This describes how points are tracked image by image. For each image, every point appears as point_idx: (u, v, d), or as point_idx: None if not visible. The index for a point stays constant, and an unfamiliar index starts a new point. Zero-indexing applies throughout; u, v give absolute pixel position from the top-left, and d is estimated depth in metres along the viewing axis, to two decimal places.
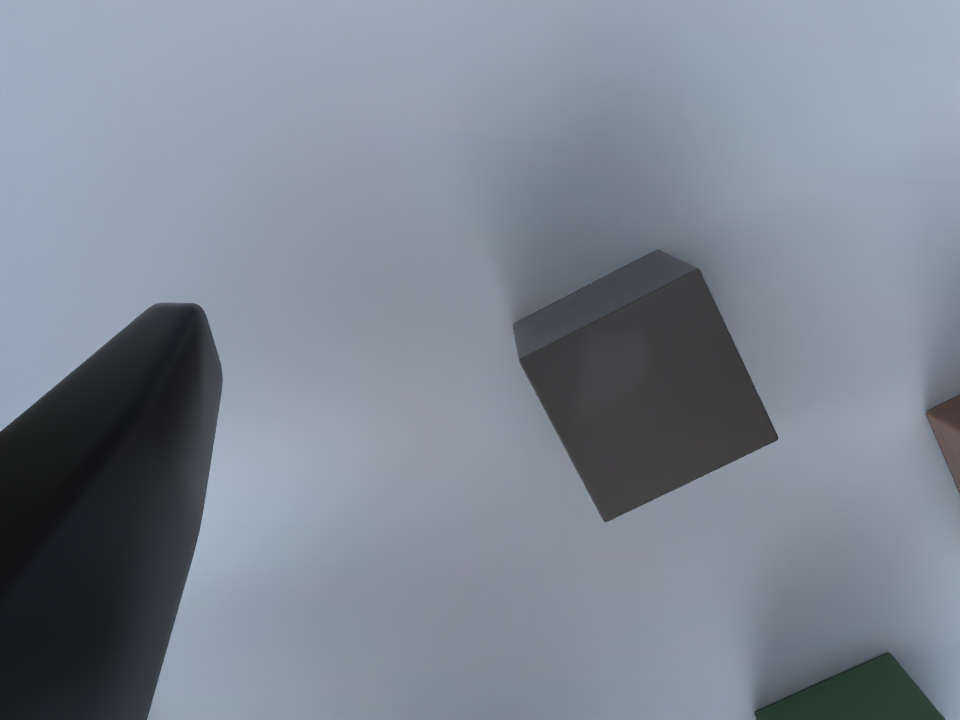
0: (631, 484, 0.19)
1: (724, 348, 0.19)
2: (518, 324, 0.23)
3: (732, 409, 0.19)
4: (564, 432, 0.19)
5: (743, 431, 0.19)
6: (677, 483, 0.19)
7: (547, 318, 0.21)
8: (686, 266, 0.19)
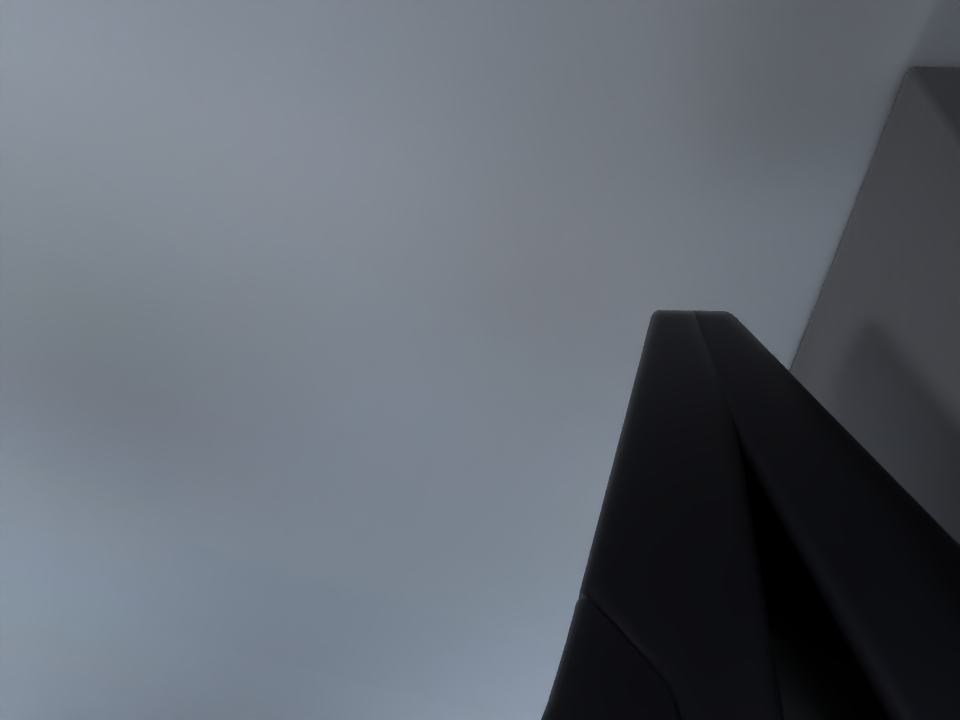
0: None
1: None
2: (950, 94, 0.07)
3: None
4: None
5: None
6: None
7: None
8: None
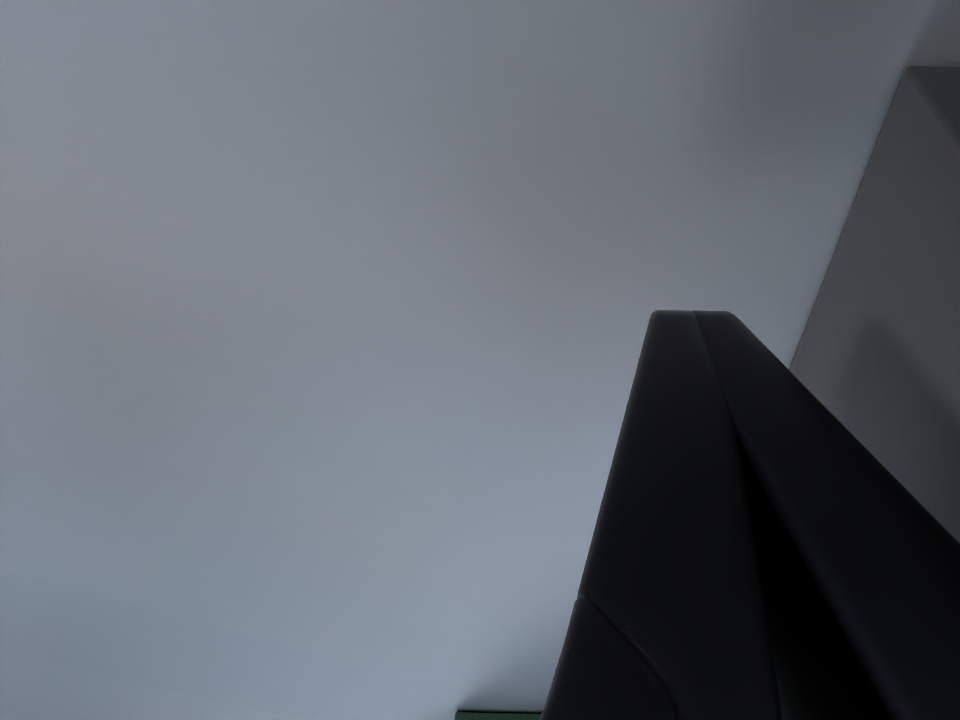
0: None
1: None
2: (947, 93, 0.07)
3: None
4: None
5: None
6: None
7: None
8: None
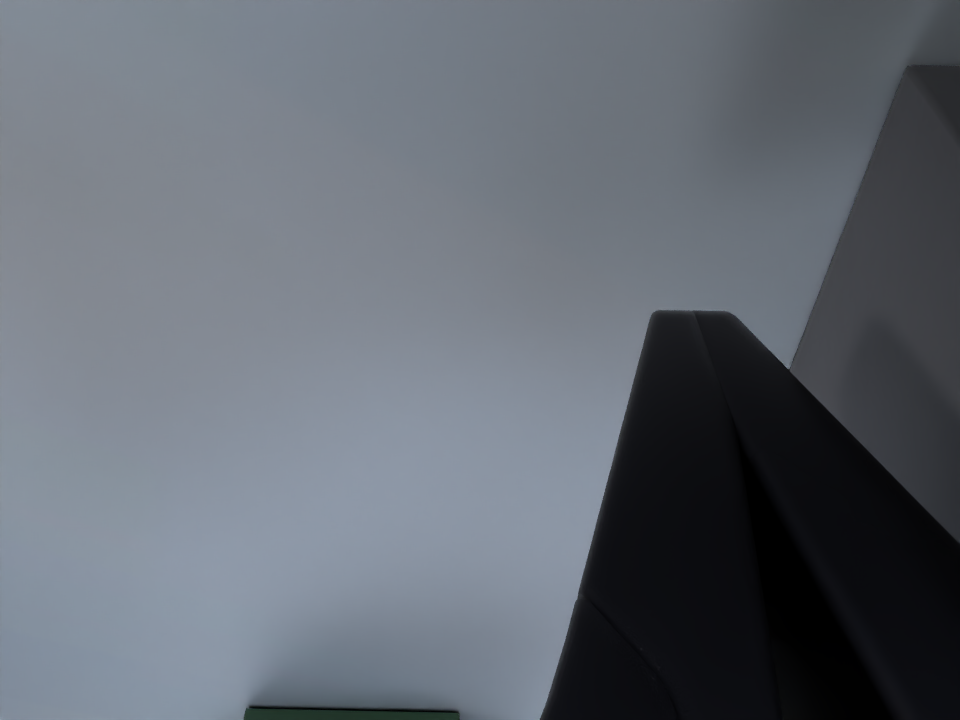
0: None
1: None
2: (948, 91, 0.07)
3: None
4: None
5: None
6: None
7: None
8: None
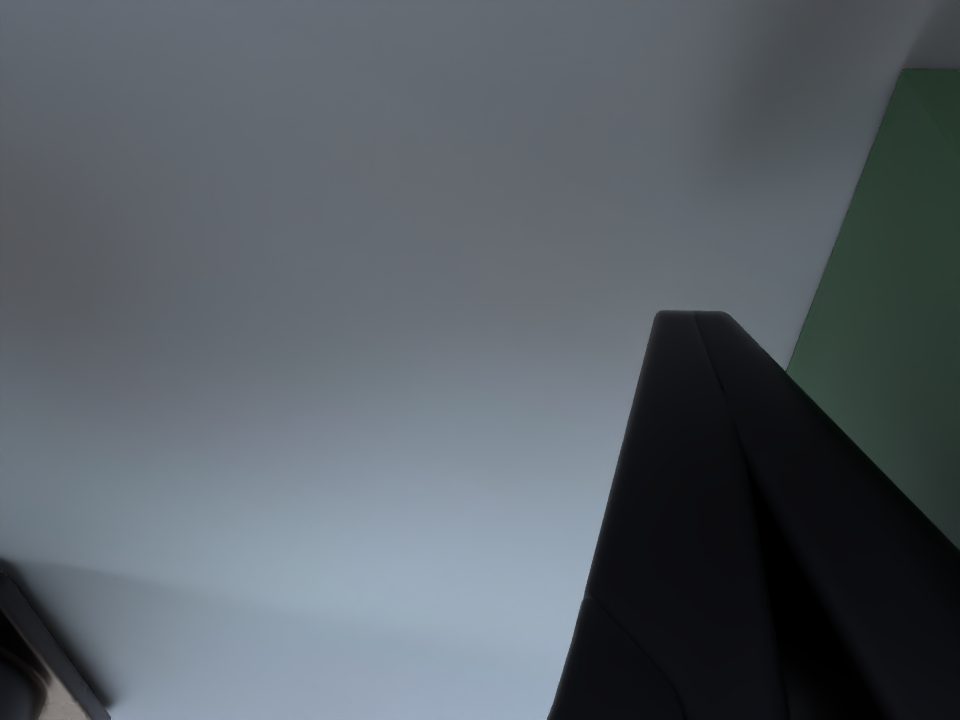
0: None
1: None
2: None
3: None
4: None
5: None
6: None
7: None
8: None
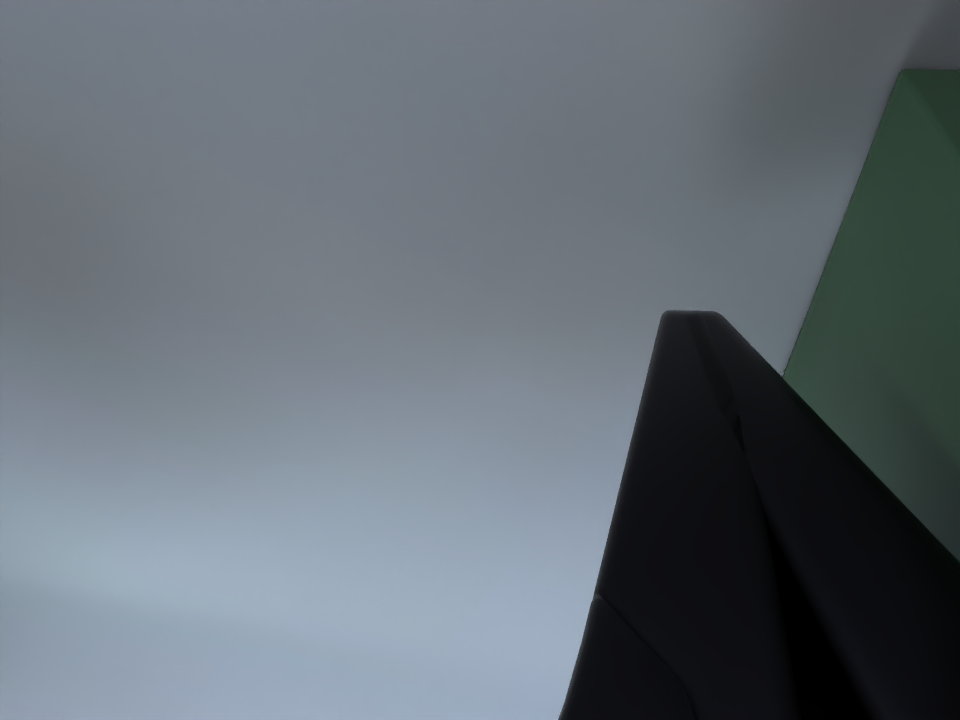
0: None
1: None
2: None
3: None
4: None
5: None
6: None
7: None
8: None
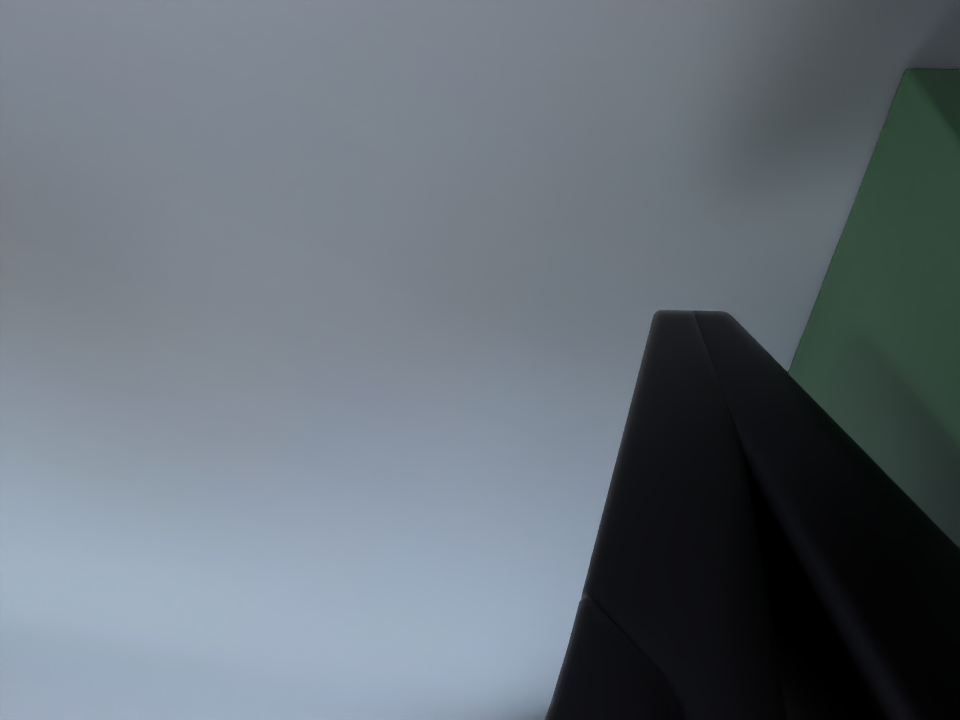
0: None
1: None
2: None
3: None
4: None
5: None
6: None
7: None
8: None
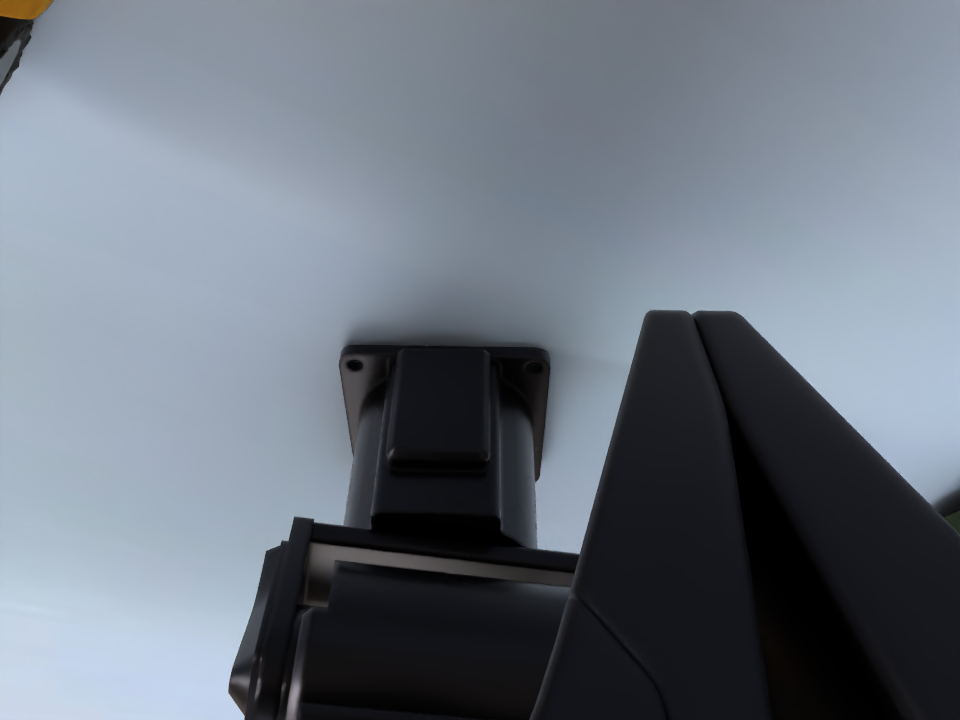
0: None
1: None
2: None
3: None
4: None
5: None
6: None
7: None
8: None
